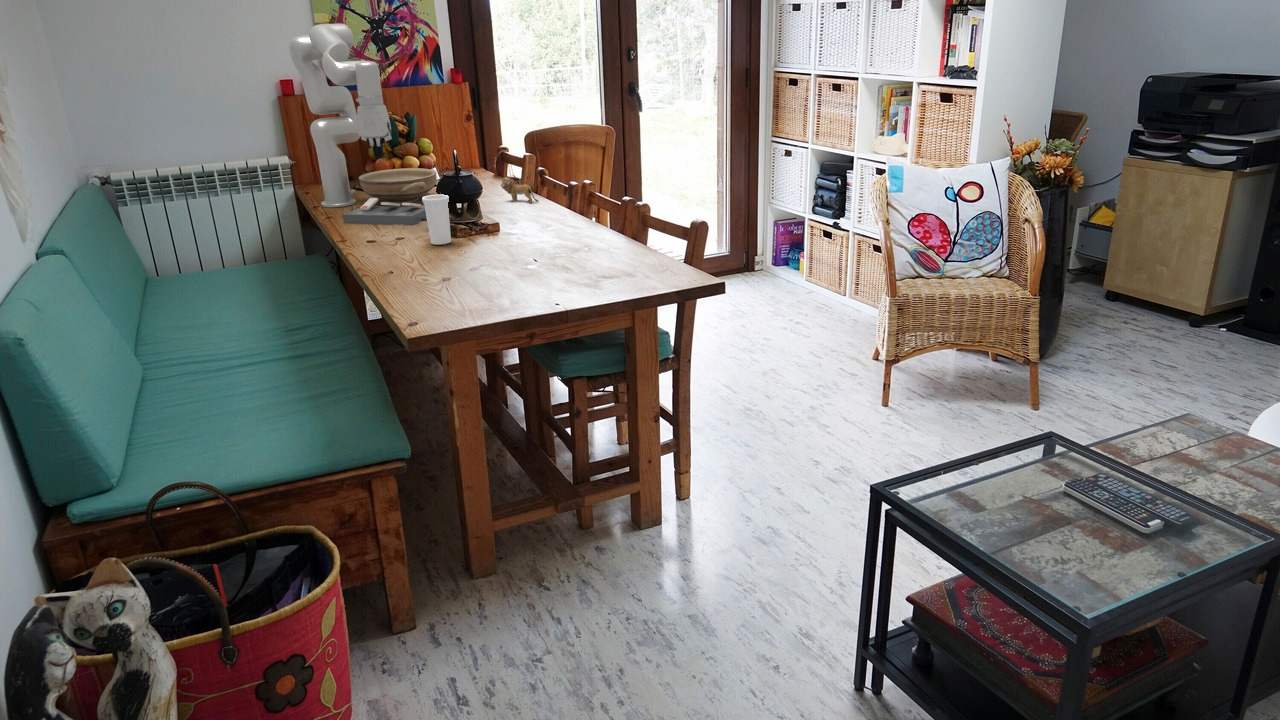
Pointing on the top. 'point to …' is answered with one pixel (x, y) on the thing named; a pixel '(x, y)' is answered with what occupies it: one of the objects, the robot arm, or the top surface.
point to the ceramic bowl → (398, 184)
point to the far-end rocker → (369, 204)
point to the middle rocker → (390, 204)
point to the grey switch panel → (386, 215)
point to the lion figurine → (517, 189)
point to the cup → (438, 218)
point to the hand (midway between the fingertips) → (379, 157)
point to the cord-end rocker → (411, 204)
